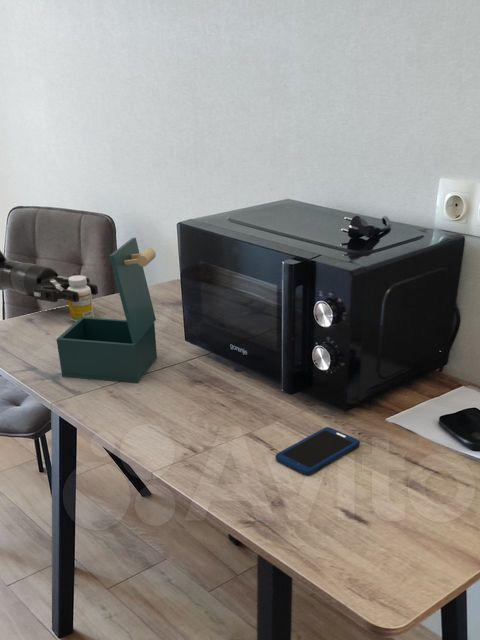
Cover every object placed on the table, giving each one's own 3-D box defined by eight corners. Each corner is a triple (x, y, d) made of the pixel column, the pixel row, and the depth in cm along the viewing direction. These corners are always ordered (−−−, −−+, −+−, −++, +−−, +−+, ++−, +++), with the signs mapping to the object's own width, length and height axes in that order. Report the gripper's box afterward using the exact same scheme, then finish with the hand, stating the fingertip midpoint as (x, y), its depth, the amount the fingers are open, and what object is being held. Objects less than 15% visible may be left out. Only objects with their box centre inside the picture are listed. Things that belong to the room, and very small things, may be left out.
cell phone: (361, 444, 118) (361, 440, 117) (307, 476, 109) (307, 472, 109) (327, 429, 122) (327, 425, 122) (273, 459, 113) (273, 455, 113)
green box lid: (108, 255, 124) (137, 252, 123) (131, 237, 134) (158, 234, 133) (132, 343, 132) (159, 340, 131) (152, 320, 143) (177, 317, 142)
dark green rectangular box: (62, 376, 139) (56, 339, 134) (86, 352, 149) (81, 316, 145) (138, 383, 137) (134, 345, 132) (157, 357, 147) (154, 322, 143)
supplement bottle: (74, 314, 168) (68, 273, 163) (96, 315, 168) (91, 274, 162) (68, 322, 163) (62, 281, 158) (91, 323, 163) (85, 281, 158)
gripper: (8, 272, 161) (62, 285, 154) (54, 258, 171) (107, 269, 164) (14, 304, 165) (66, 318, 158) (59, 288, 175) (110, 301, 168)
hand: (87, 293), depth 161 cm, fingers open, 5 cm apart
